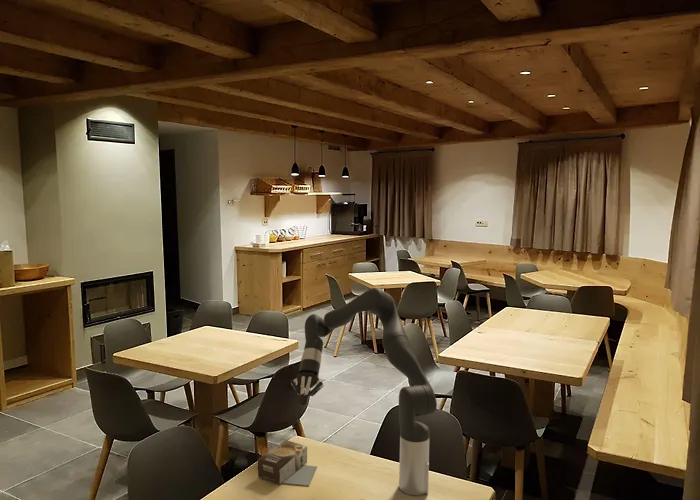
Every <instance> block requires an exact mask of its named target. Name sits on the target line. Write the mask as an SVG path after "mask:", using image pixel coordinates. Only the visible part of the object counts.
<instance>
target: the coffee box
mask: <svg viewBox="0 0 700 500" xmlns="http://www.w3.org/2000/svg"><path fill="white" fill-rule="evenodd" d="M307 463H308V446H307V445H304V444H301V443H297V442H294V441H290V440H287V439H286V440H284V441H282V442H281V443H280V444H278V445H277V446H275V447H274V448H272V449H271V450H269V451H268V452H267V453H265V454H263V455H262V456H261V457H259V458H257V473H258V474H257V477H258V478H260V479H264V480H266V481H267V480H268V481H271V482H274V483H273V484H277V485H280V484H281V483H282V482H283V481H285V480H286V479H287V478H288V477H290V476H291V475H292V474H293V473H295V472H296V471H297V470H299V469H300V468H301V467H302V466H304V465H306V464H307ZM281 485H282V484H281Z"/></svg>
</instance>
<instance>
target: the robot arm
mask: <svg viewBox="0 0 700 500" xmlns="http://www.w3.org/2000/svg"><path fill="white" fill-rule="evenodd" d="M366 311H367V312H369V313H371V314H373V315H374V316H376V317H377V318H378V319H379V321H380V323H381V325H382V327H383V334H382V341H381V342H382V344H381V345H382V347H383V350H384V353H385V355H386V358H387V361H389V363H390V364H391V365H392V366H393V367H394V369H396V370H398V371H399V372H400V373H402V375H404V376H405V377H406V378H407V379H408V380H409V381H410V382H411V384H412V385H409V386H403V387H401V388H400V391H399V394H398V409H399V410H398V415H399V416H398V417H399V418H398V419H399V420H398V424H399V431H400V432H399V433H400V434H399V464H398V465H399V469H398V470H399V471H398V474H399V475H398V488H399V490H400V491H401V492H402V493H404V494H406V495H408V496H409V495H410V496H421V495H425V494H427V495H428V494H429V478H430V477H429V474H430V473H429V472H430V471H429V469H430V432H431V431H430V427H429V426H428V425H426V424H425V423H423V422H421V421H417V420H415V417H421V416H428V415H432V414H434V413H435V412H436V411H437V407H438V404H437V398H436V394H435V392H434V389H433V387H432V385H431V384H430V381H429V380H428V378H427V377H426V375H425V373H424V371H423V369H422V367H421V365H420V363H419V361H418V359H417V356H416V354H415V351H414V349H413V346H412V344H411V342H410V338H409V337H408V335H407V333H406V330H405V328H404V325H403V324H402V323H403V322H402V321H401V318H400V316H399V313H398V308H397V305H396V302H395V299H394V298H393V296H392V295H390V294H389V293H387V292H385V291H384V290H382V289H381V288H379V287H378V288H377V287H372V288H369V289H367V290H366V291H364V292H363V293H361V294H360V295H358V296H356V297H355V298H354V299H352V300H351V301H349V302H348V303H346V304H344V305H342V306H340V307H338V308H335V309H333V310H330V311H328V312H326V313H325V315H324V316H323V317H321V316H320V315H318V314H314V313H313V314H310V315H309V316H307V318H306V319H305V322H304V336H305V337H304V339H305V344H304V349H303V352H302V354H301V355H302V356H301V359H300V364H299V370H298V374H297V376H296V378H294V379H291V380H289V381H290V384H291V387H292V388H293V390H294V391H295V393H296V395H297V396H300V397H299V401H298V402H299V405H300V407H304V408H305V407H306V406H307V405H308V403H309V402H308V401H309V398H310V397H314V396H316V394H317V393H318V392H320V390H321V389H323V387H324V382H323V381H320V377H319V376H320V375H319V373H320V368H321V363H322V354H323V347H324V340H323V338H325V337H328V335H329V334H331V333H332V332H333V331H334V330H336V329H338V328H340V327H343V326H345V325H347V324H350V322H351V321H352V320H353V319H354V317H355V316H356V315H357V314H359V313H362V312H366ZM298 384H299V386H300V389H299V388H298V386H297V385H298Z"/></svg>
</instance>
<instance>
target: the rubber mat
mask: <svg viewBox="0 0 700 500" xmlns="http://www.w3.org/2000/svg"><path fill="white" fill-rule="evenodd" d="M317 469H318V466H317V465H306V464H305V465H304V466H302V467H301V468H300V469H299V470H297V471H296V472H295V473H293V474H292V475H291V476H290V477H288V478H287V479H286V480H285V481H283V482H282V483H281V485H289V486H299V487H300V486H301V487H310V485H311V482H312V480H313V478H314V476H315V472H316V471H317ZM266 483H269V484H275V483H274V482H271V481H268V480H266Z"/></svg>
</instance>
